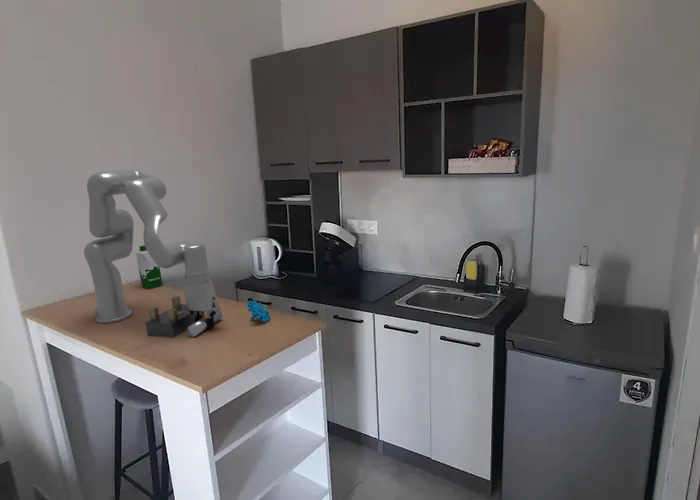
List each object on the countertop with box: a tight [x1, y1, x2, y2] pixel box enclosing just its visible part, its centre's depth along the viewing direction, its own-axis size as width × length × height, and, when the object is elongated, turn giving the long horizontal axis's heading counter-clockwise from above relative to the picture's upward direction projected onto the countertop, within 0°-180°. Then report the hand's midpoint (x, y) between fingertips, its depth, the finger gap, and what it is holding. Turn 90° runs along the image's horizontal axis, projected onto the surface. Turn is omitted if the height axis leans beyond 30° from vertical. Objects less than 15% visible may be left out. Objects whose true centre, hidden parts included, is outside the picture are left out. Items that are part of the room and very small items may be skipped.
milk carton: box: [134, 244, 164, 290], centre depth 211 cm, size 9×9×20 cm
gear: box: [246, 299, 272, 323], centre depth 161 cm, size 11×6×10 cm
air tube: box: [185, 310, 223, 338], centre depth 156 cm, size 16×4×4 cm, turn 163°
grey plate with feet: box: [145, 295, 206, 338], centre depth 159 cm, size 11×18×9 cm, turn 163°
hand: (205, 326), depth 157 cm, fingers closed on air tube, 4 cm apart
